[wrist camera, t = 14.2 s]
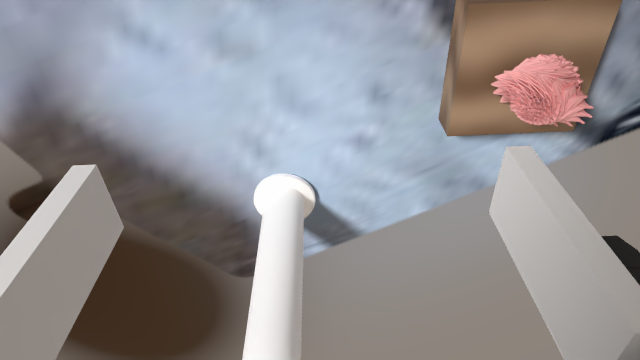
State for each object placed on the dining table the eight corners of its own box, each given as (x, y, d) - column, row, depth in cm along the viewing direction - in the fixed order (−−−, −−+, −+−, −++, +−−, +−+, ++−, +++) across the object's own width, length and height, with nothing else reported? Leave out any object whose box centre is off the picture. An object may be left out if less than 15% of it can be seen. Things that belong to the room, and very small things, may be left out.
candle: (266, 164, 46) (231, 395, 26) (325, 184, 48) (335, 415, 28) (246, 209, 50) (201, 441, 30) (301, 226, 51) (294, 456, 31)
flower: (619, 40, 29) (584, 107, 28) (608, 100, 35) (579, 156, 35) (506, 24, 33) (473, 81, 33) (514, 80, 40) (487, 129, 39)
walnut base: (455, -8, 36) (469, 4, 33) (595, -15, 36) (623, -3, 33) (437, 116, 43) (447, 136, 40) (553, 111, 43) (573, 130, 40)
